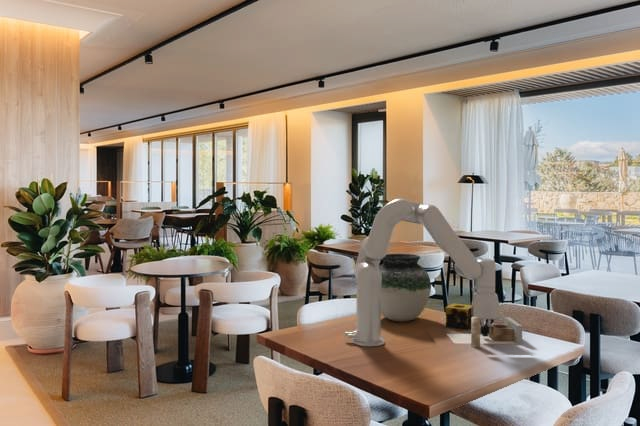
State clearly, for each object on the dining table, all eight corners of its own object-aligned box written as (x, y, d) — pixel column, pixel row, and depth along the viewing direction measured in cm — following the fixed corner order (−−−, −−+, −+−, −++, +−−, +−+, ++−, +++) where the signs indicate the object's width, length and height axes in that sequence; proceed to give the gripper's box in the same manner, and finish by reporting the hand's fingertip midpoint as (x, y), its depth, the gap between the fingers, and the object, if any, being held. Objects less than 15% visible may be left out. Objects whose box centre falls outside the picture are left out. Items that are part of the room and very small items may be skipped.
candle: (475, 327, 228) (475, 305, 228) (468, 332, 219) (468, 309, 219) (452, 324, 234) (452, 302, 233) (445, 329, 225) (445, 306, 225)
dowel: (472, 350, 194) (472, 318, 194) (470, 347, 197) (470, 316, 197) (481, 350, 194) (481, 318, 194) (478, 347, 197) (478, 316, 197)
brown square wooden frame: (493, 341, 203) (494, 328, 202) (488, 336, 210) (488, 324, 210) (513, 341, 202) (513, 328, 202) (506, 336, 210) (506, 324, 210)
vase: (416, 329, 224) (417, 261, 223) (359, 321, 240) (359, 256, 239) (439, 317, 248) (440, 254, 247) (386, 310, 264) (386, 251, 263)
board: (454, 345, 200) (454, 325, 199) (446, 336, 214) (446, 317, 213) (522, 346, 199) (522, 325, 199) (509, 336, 213) (509, 317, 213)
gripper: (468, 291, 202) (468, 338, 203) (507, 291, 202) (506, 338, 202) (463, 288, 210) (463, 333, 210) (500, 288, 209) (500, 333, 210)
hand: (484, 335), depth 206 cm, fingers closed
